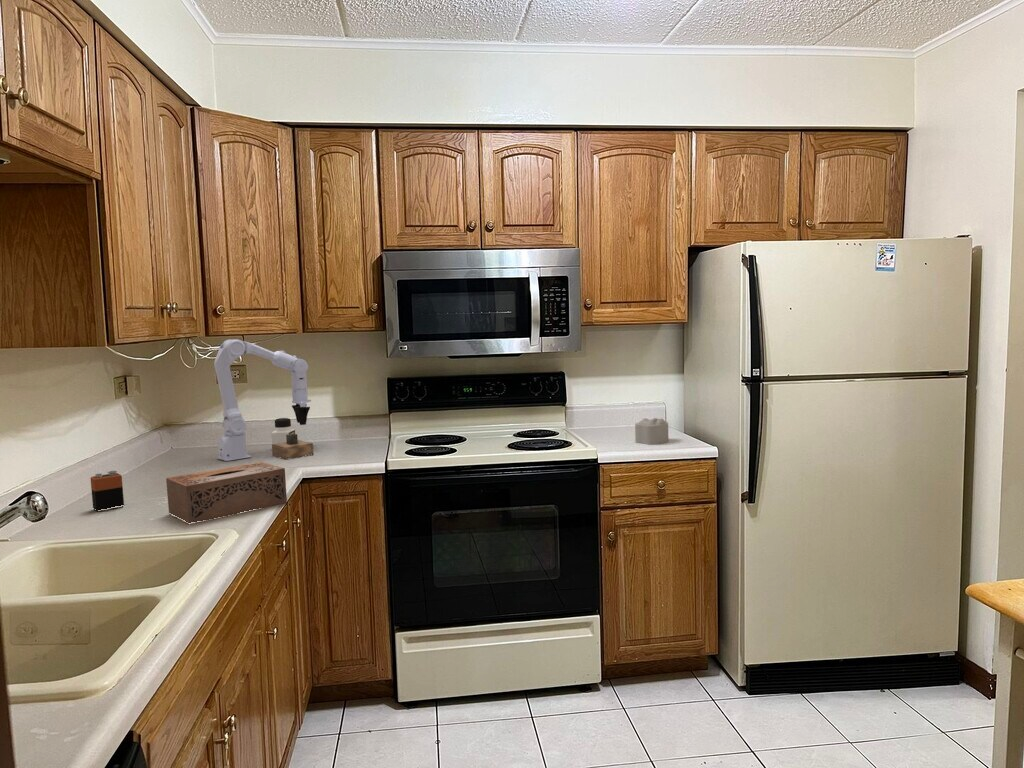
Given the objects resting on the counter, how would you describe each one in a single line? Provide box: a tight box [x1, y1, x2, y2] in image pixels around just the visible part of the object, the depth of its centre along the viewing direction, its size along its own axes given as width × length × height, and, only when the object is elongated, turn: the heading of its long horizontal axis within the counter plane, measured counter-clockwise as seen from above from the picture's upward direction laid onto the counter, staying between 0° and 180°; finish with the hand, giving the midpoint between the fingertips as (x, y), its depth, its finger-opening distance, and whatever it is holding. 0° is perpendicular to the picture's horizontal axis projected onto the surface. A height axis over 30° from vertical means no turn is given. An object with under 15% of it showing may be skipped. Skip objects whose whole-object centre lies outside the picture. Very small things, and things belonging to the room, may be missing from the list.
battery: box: [90, 470, 125, 511], centre depth 191 cm, size 4×7×10 cm, turn 133°
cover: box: [271, 433, 314, 460], centre depth 262 cm, size 11×11×8 cm
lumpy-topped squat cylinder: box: [634, 417, 669, 446], centre depth 265 cm, size 10×13×9 cm
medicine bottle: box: [271, 417, 296, 445], centre depth 278 cm, size 7×7×12 cm
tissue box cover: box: [165, 461, 288, 523], centre depth 186 cm, size 26×14×10 cm, turn 134°
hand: (301, 423), depth 274 cm, fingers open, 7 cm apart
